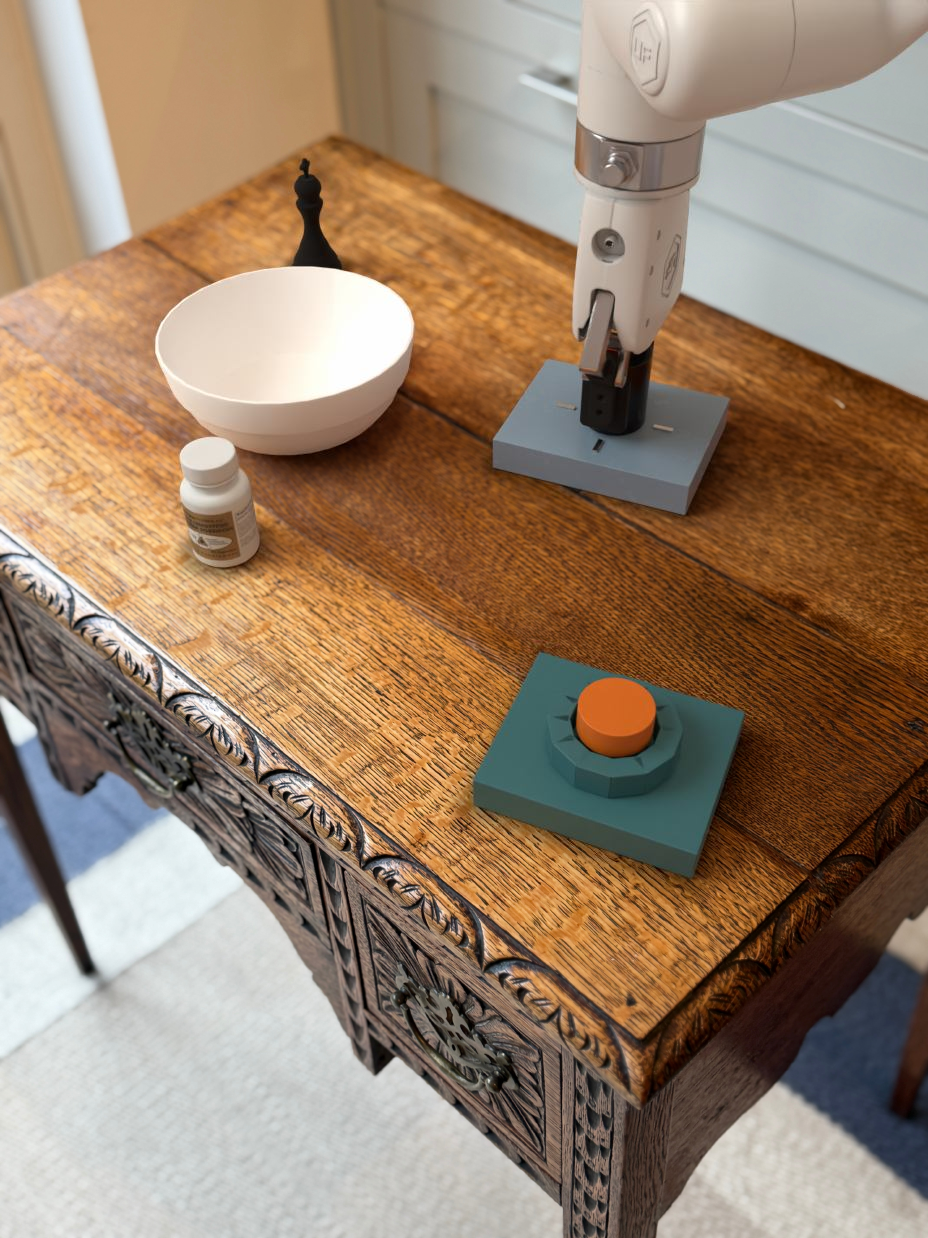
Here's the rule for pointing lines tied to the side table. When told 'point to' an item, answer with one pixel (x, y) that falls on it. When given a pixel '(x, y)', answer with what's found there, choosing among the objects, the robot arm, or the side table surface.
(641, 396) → the dial knob
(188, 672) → the side table surface
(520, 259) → the side table surface
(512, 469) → the dial base
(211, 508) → the pill bottle
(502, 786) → the button block
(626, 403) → the robot arm
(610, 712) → the button
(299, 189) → the chess piece
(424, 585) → the side table surface
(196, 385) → the bowl
